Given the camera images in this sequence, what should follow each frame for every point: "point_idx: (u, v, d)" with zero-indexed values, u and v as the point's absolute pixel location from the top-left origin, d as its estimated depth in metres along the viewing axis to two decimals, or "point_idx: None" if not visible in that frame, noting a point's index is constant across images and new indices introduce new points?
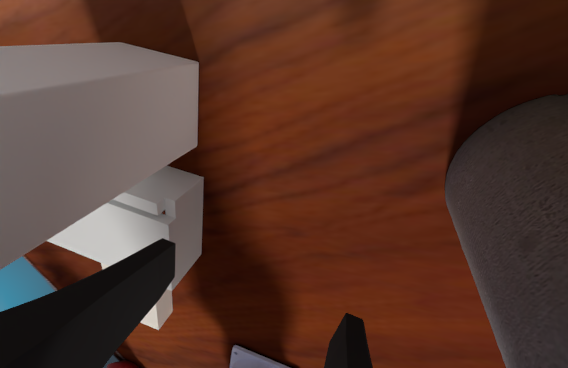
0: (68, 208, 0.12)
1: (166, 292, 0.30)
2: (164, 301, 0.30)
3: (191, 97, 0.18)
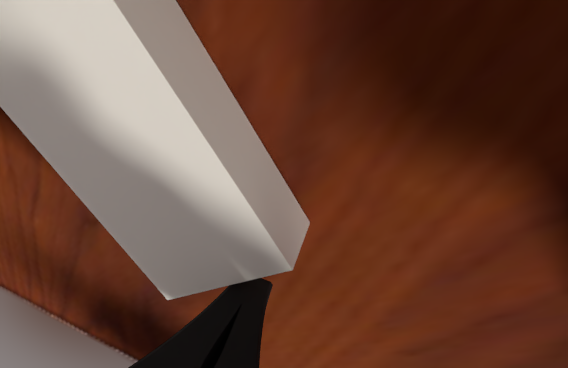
0: None
1: (236, 125, 0.09)
2: (248, 158, 0.09)
3: None
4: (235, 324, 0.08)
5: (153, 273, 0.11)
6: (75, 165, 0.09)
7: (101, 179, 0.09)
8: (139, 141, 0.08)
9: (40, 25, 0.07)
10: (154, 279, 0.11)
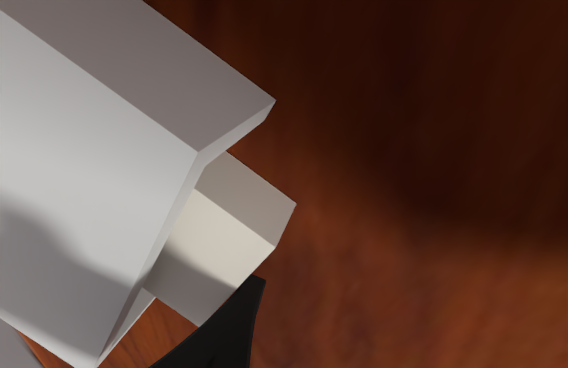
0: None
1: None
2: None
3: None
4: (227, 320, 0.08)
5: (176, 304, 0.11)
6: None
7: None
8: None
9: None
10: (179, 309, 0.11)
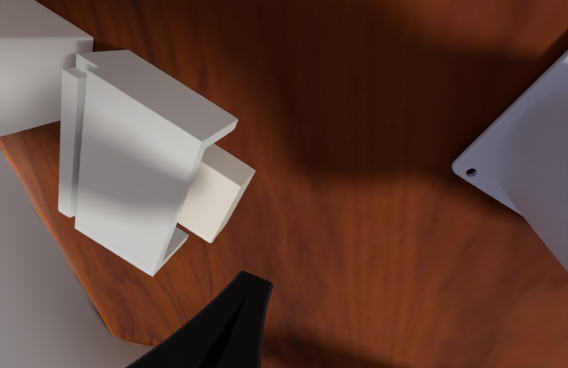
0: None
1: None
2: (205, 150, 0.19)
3: (32, 5, 0.18)
4: (236, 325, 0.08)
5: (197, 230, 0.21)
6: None
7: None
8: None
9: None
10: (199, 233, 0.21)
